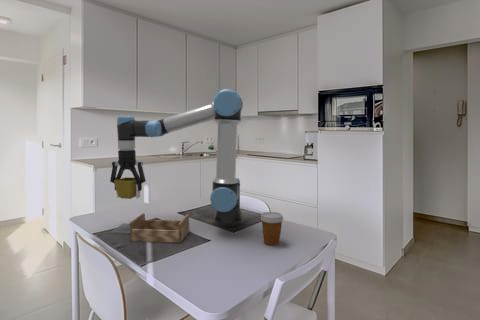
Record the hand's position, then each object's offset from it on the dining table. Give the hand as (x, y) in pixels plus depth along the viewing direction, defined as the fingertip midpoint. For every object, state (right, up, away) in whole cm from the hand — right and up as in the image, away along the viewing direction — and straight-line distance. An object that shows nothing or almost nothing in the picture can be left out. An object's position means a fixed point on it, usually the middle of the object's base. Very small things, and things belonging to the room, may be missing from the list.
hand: (128, 197), depth 138 cm
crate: (+17, -16, -8) cm, 25 cm away
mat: (0, -15, +2) cm, 15 cm away
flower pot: (0, 0, 0) cm, 0 cm away
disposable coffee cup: (+66, -17, -15) cm, 70 cm away
